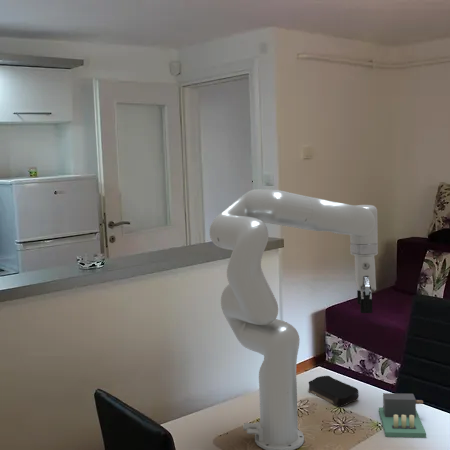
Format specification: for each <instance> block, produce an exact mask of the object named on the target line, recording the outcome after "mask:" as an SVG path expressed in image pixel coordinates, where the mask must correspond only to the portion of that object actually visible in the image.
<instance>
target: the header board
mask: <svg viewBox="0 0 450 450" xmlns="http://www.w3.org/2000/svg"><path fill="white" fill-rule="evenodd" d="M378 414H379V418H380V421H381V425H382V428H383V431H384V435H385V437H387V438H424V439H425V438H427V432H426V430H425V427H424V425H423V423H422V420H421V418H420V415H419V413H418V410H417V409H416V418H415V417H414V415H409V417H406V415H401V417H398V415H396V414H395V415H394V417H385V415H384V411H383V407H380V406H379V407H378Z"/></svg>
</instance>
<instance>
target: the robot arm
mask: <svg viewBox="0 0 450 450" xmlns="http://www.w3.org/2000/svg"><path fill="white" fill-rule="evenodd" d="M266 224H269V225H270V224H271V225H276V226H282V227H289V228H294V229H301V230H306V231H313V232H315V231H316V232H331V233H333V234H337V235H338V234H339V235H346V236H347V235H348V236H349V238H350V240H349V242H350V245H349V248H350V249H349V250H350V255H351V256H354V274H355V275H354V276H355V283H356V287H357V289H356V290H357V295H356V298H357V305H360V307H359V308H360V311H359V312H360V313H361V314H372V313H373V297H372V295H373V294H372V290H373V291H374V292H375V291H376V290H377V281H376V260H375V256H377V255H378V254H379V243H378V237H379V235H378V233H379V232H378V224H379V223H378V208H377V207H376V206H375V205H373V204H359V205H358V204H356V205H353V204H348V203H343V202H337V201H331V200H329V199H328V200H327V199H323V198H319V197H313V196H307V195H303V194H298V193H293V192H290V191H289V192H288V191H284V190H280V189H266V188H265V189H264V188H263V189H260V188H259V189H258V188H256V189H254V188H253V189H251V190H249V191H246V192H245V193H244V194H243V195H241V196H240V197H239V198H237V199H236V200H234V202H232V203H231V204H230V205H229V206H227V207H226V208H225V209H224V210H222V212H220V213H219V214H217V216H216V217H214V219H213V220H212V222H211V224H210V225H209V238H210V240H211V242H212V244H214V245H215V246H216V247H217V248H221V249H223V250H229V251H232V252H231V255H230V258H229V261H228V264H227V268H226V278H227V282H228V285H226V286H225V288H224V289H223V291H222V292H221V296H220V306H221V310H222V311H221V312H222V314H223V315H224V317H225V319H226V321H227V323H228V325H229V326H230V328H231V331H232V332H233V334H234V335H235V337H236V339H237V341H238V342H239V343H240V344H241V345H242V347H244V348H245V349H248V350H249V351H253V352H255V353H258V354H260V355H263V360H262V363H261V365H260V367H259V370H258V386H259V387H258V391H259V392H258V393H259V396H258V397H259V421H256V422H255V423H254V422H253V423H251V422H243V427H242V428H243V431H246V432H247V433H246V434H247V435H254V442H255V444H256V445H257V446H258V447H260V448H261V449H263V450H296V449H299V448H300V447H301V446H303V444H304V443H305V435H304V433H303V431H301V430H299V426H298V425H299V424H298V423H299V421H298V420H299V419H298V393H297V392H298V390H297V388H298V387H297V383H298V382H297V361H298V354H299V348H300V335H299V331H298V330H297V329H296V328H295V326H293V325H292V324H290V323H289V322H287V321H284V320H280V319H278V315H279V305H278V302H277V299H276V297H275V295H274V293H273V291H272V289H271V287H270V285H269V283H268V280H267V278H266V276H265V274H264V271H263V269H262V259H263V254H264V252H265V249H266V248H267V244H268V242H269V230H268V226H267V225H266Z"/></svg>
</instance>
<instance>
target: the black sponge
mask: <svg viewBox="0 0 450 450" xmlns="http://www.w3.org/2000/svg"><path fill="white" fill-rule="evenodd" d="M308 392H309V393H310V392H311V394H313V393H314V394H313V395H315V394H316V395H315V396H317V395H318V396H317V397H319V398H322V399H323V400H326V401H327V402H329V403H331V404H333V405H334V406H337V407H339V408H340V407H344V406H345V405H347V404H350V403H351V402H355V401H357V400H358V399H359V396H360V395H359V389H358V388H356V387H355V386H352V385H350V384H347V383H345V382H342V381H340V380H338V379H336V378H334V377H332V376H331V375H321V376H316V377H315V378H314V379H312V380H310V381H308Z"/></svg>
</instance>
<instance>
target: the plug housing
mask: <svg viewBox="0 0 450 450" xmlns="http://www.w3.org/2000/svg"><path fill="white" fill-rule="evenodd" d="M423 404H424V400H422V399H416V397H415V395H414V393H397V392H396V393H388V392H387V393H386V392H385V393H383V395H382V406H383V411H384V415H385V417H394V415H395V414H396V415H398V417H401V415H406V417H409V415H414V417H415V418H416V410H417V406H416V405H423Z"/></svg>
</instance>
